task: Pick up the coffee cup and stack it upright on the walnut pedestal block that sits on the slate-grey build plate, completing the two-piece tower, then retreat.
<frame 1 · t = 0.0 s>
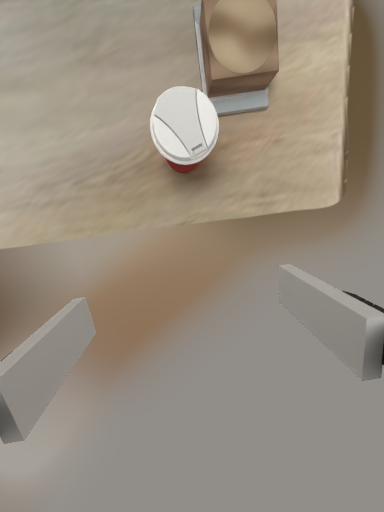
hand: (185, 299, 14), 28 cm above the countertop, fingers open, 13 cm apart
build plate: (231, 63, 34), on the countertop
pedestal: (233, 58, 33), point 1 cm above the countertop, touching build plate
coffee cup: (183, 155, 37), on the countertop
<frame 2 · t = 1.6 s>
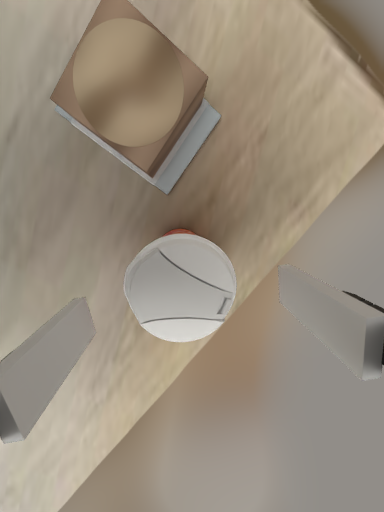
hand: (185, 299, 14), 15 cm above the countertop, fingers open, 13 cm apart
build plate: (142, 117, 24), on the countertop
pedestal: (140, 112, 23), point 1 cm above the countertop, touching build plate
coffee cup: (179, 249, 28), on the countertop
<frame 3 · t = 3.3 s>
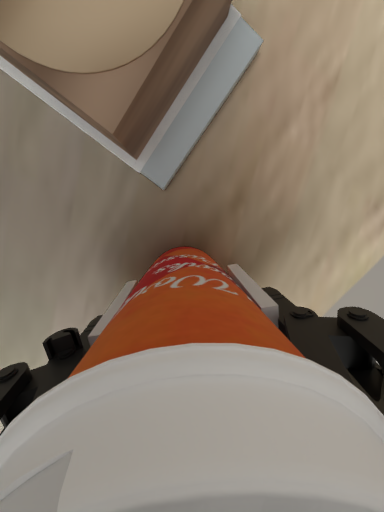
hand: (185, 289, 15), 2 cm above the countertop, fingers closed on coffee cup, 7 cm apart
build plate: (117, 48, 13), on the countertop
pedestal: (110, 32, 12), point 1 cm above the countertop, touching build plate
coffee cup: (183, 279, 17), on the countertop, touching gripper
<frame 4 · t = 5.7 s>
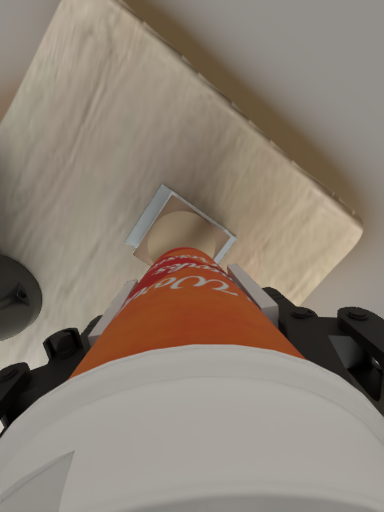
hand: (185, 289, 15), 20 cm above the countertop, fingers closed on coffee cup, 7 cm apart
build plate: (181, 238, 34), on the countertop
pedestal: (181, 240, 33), point 1 cm above the countertop, touching build plate
coffee cup: (183, 279, 17), point 18 cm above the countertop, touching gripper
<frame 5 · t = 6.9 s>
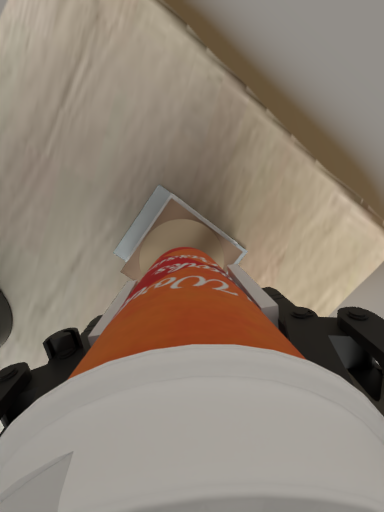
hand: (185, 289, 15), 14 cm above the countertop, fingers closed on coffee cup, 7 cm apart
build plate: (181, 250, 29), on the countertop
pedestal: (181, 252, 28), point 1 cm above the countertop, touching build plate
coffee cup: (183, 279, 17), point 12 cm above the countertop, touching gripper
when the fingers open (10 cm above the countertop, at t = 8.1 s): coffee cup drops 1 cm, resting on pedestal.
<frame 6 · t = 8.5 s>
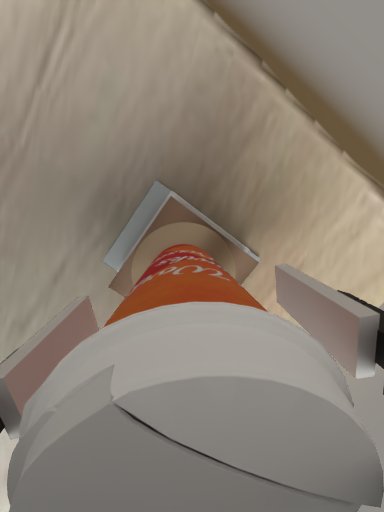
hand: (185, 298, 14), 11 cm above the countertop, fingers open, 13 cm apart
build plate: (183, 257, 24), on the countertop
pedestal: (183, 260, 23), point 1 cm above the countertop, touching build plate, coffee cup
coffee cup: (182, 274, 19), point 6 cm above the countertop, touching pedestal
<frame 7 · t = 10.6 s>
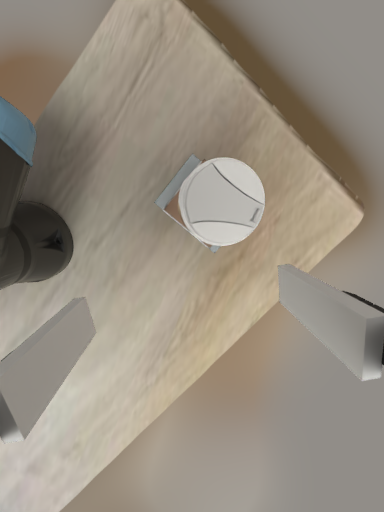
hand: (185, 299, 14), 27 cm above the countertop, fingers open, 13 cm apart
build plate: (203, 206, 39), on the countertop
pedestal: (204, 206, 37), point 1 cm above the countertop, touching build plate, coffee cup
coffee cup: (206, 205, 33), point 6 cm above the countertop, touching pedestal
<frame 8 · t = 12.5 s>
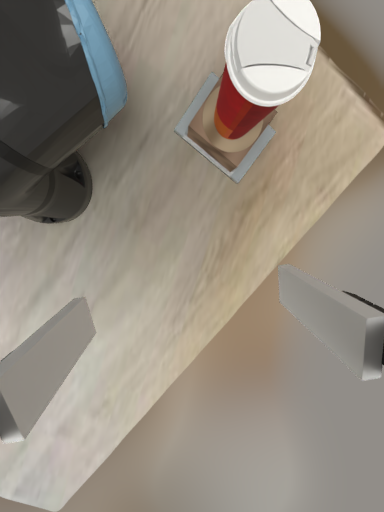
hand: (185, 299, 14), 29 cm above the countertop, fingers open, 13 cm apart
build plate: (224, 133, 37), on the countertop
pedestal: (225, 130, 36), point 1 cm above the countertop, touching build plate, coffee cup
coffee cup: (231, 119, 31), point 6 cm above the countertop, touching pedestal
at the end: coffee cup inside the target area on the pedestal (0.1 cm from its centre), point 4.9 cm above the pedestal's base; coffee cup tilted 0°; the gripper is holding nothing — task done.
